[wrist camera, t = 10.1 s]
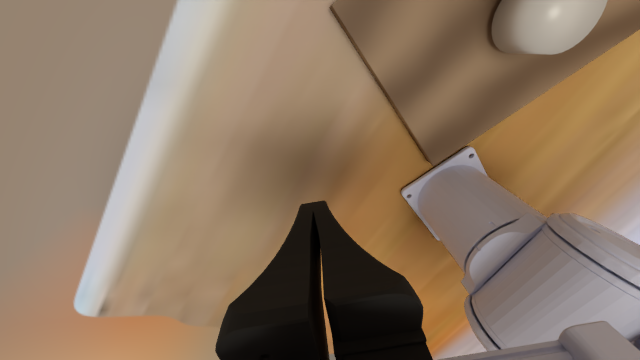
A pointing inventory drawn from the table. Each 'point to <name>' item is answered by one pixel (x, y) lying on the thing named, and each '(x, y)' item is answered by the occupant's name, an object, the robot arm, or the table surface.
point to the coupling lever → (544, 24)
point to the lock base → (462, 63)
